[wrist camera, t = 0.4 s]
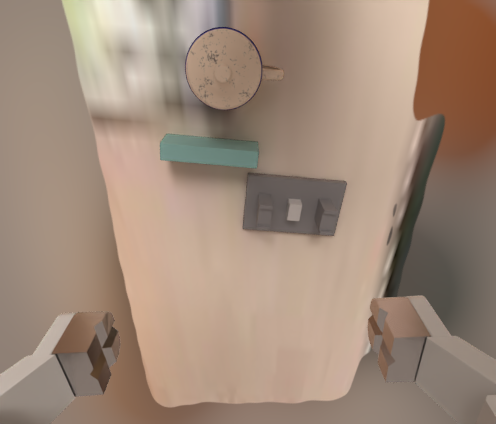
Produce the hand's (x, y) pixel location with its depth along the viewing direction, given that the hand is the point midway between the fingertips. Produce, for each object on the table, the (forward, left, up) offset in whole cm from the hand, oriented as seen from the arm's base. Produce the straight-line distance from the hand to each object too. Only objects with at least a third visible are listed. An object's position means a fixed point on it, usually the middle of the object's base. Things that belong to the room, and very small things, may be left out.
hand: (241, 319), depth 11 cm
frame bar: (+9, -4, -45) cm, 46 cm away
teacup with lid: (-3, -1, -45) cm, 45 cm away
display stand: (+18, +10, -45) cm, 49 cm away
